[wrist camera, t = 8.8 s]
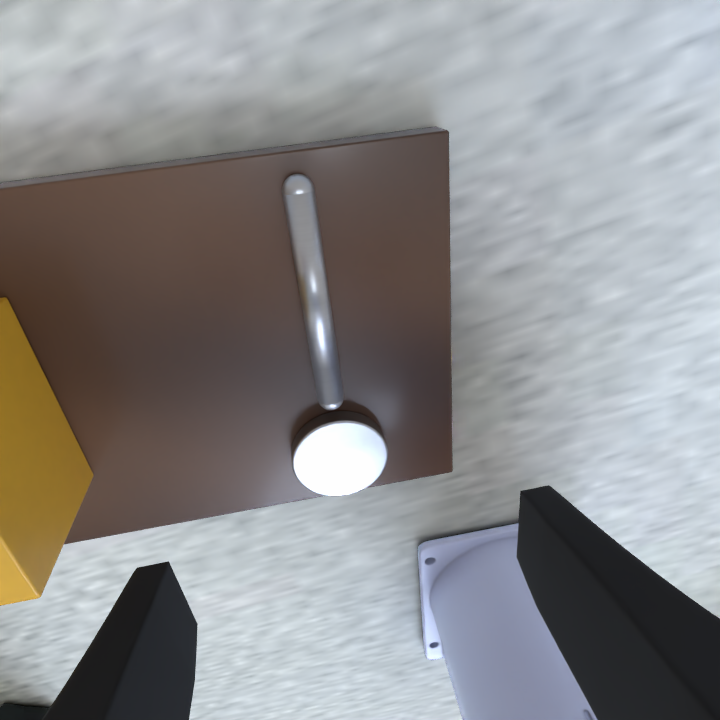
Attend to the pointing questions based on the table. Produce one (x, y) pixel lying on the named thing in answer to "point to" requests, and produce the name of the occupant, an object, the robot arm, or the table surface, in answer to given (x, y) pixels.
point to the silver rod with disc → (326, 369)
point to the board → (233, 318)
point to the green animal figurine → (21, 712)
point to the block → (33, 468)
